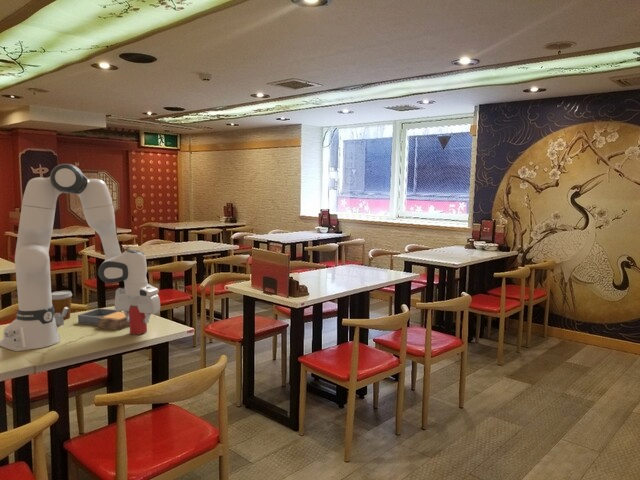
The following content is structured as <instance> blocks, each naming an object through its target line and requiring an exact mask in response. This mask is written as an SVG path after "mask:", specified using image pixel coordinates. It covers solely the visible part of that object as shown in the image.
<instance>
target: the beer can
mask: <svg viewBox="0 0 640 480" xmlns="http://www.w3.org/2000/svg"><path fill="white" fill-rule="evenodd" d="M145 317H146V316H145V313H140V312H139V309H138V306H131V305H130V308H129V323H130V326H129V333H130V334H131V335H133V336H134V335H135V336H139V335H143V334H146V333H147V331H148V326H147V325H148V323H147V324H145V323H143V319H145Z"/></svg>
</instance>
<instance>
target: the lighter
mask: <svg viewBox="0 0 640 480" xmlns="http://www.w3.org/2000/svg"><path fill="white" fill-rule="evenodd" d="M68 310H69V308H67V307H65V308H64V309H63V311H62V314H61V315H60V313H55V315H53V317H54V318H55V321H56V326H59V327H60V326H64V320H63V317H65V316H66V315H67V312H68Z"/></svg>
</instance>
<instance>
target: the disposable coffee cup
mask: <svg viewBox="0 0 640 480" xmlns="http://www.w3.org/2000/svg"><path fill="white" fill-rule="evenodd" d="M51 295H52V305H53V306H54V315H55V313H60V315H61V314H62V311H63V309H64V308H65V307H67V308H69V310H68V312H67V315H66V316H65V317H63V321H66V320H68V319H70V318H71V305H72V297H73V293H72V291H71V290H60V291H59V290H58V291H53V292H52V291H51Z"/></svg>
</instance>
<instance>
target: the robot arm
mask: <svg viewBox="0 0 640 480" xmlns="http://www.w3.org/2000/svg"><path fill="white" fill-rule="evenodd" d="M61 194H74V195H75V194H76V195H77V196H78V198H79V200H80V203H81V207H82V208H81V209H82V211H83V212H82V213H83V215H84V218H85V221H86V223H87V225H88V227H90V228H91V229H92V230H94V231H95V232H96V233H97V234H98V236H99V238H100V241H101V245H102V249H103V252H104V261H103V262H102V263H101V264H100V265H99V267H98V270H97V275H98V278H99V279H100V280H101V281H102V282H104V283H106V284H116V283H119V282H123V283H124V287H118V288H117V289H116V290H115V296H114V310H119V311H121V312H124V314H125V316H126V318H127V322H129V308H130V305H131V306H138V309H139V312H140V313H145V316H146V317H145V319H143V323H145V324H147V325H148V324H149V322H150V321H149V320H150V317H151V315H155V314H158V313H160V311H161V299H160V296H159V292H160V291H159V288H157V287H155V286H153V285H151V284H149V283H148V279H147V273H148V264H147V258H146V255H145V253H144V252H143V251H141V250H137V249H126V250H125V251H123V252H122V250H121V245H120V242H119V239H118V235H117V230H116V214H115V207H114V203H113V200H112V195H111V193H110V191H109V188H108V186H107V184H106V182H105V181H103V180H102V179H100V178H88V177H86V176H85V175H84V173H83V172H82V170H81V169H80V168H79V167H78V166H76V165H74V164H72V163H60V164H57V165H56V166H55V167H54V168H52V170H51V172H50V174H49V176H48V177H41V176H39V177H34V178H31V179H29V180H28V182H27V184H26V186H25V190H24V193H23V195H22V200H21V201H22V203H21V208H20V217H19V223H18V232H17V239H16V246H15V251H14V252H15V253H14V267H15V269H14V270H15V279H16V289H17V291H16V292H17V301H18V309H16V310H14V312H13V314H14V315H15V314H16V315H15V319H14V320H12V322H10V323H9V324H8V325H6V327H4V330H3V335H2V337H3V338H1V339H0V347H1V348H5V349H8V350H11V351H15V352H22V351H28V350H36V349H42V348H46V347H49V346H52V345H56V344H57V343H59V342H60V333H58V327H57V326H58V325H56V321H55V318H54V317H53V315H54V306H53V305H52V295H51V293H52V281H51V279H52V278H51V261H50V259H51V258H50V253H49V252H50V246H51V240H52V235H53V231H54V230H53V229H54V222H55V217H56V216H55V214H56V208H57V202H58V198H59V195H61Z"/></svg>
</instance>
